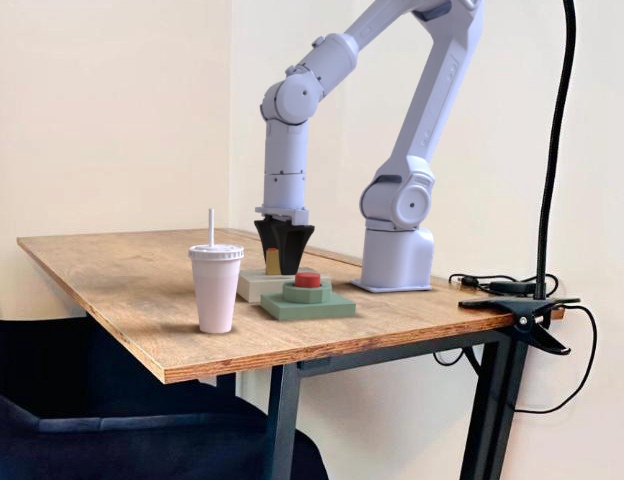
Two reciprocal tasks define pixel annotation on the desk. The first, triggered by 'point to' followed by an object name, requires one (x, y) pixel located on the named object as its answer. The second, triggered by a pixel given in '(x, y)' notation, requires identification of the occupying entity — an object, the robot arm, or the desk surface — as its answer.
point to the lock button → (307, 280)
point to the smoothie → (215, 281)
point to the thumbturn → (272, 262)
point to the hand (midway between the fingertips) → (280, 270)
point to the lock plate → (266, 282)
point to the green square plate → (307, 303)
